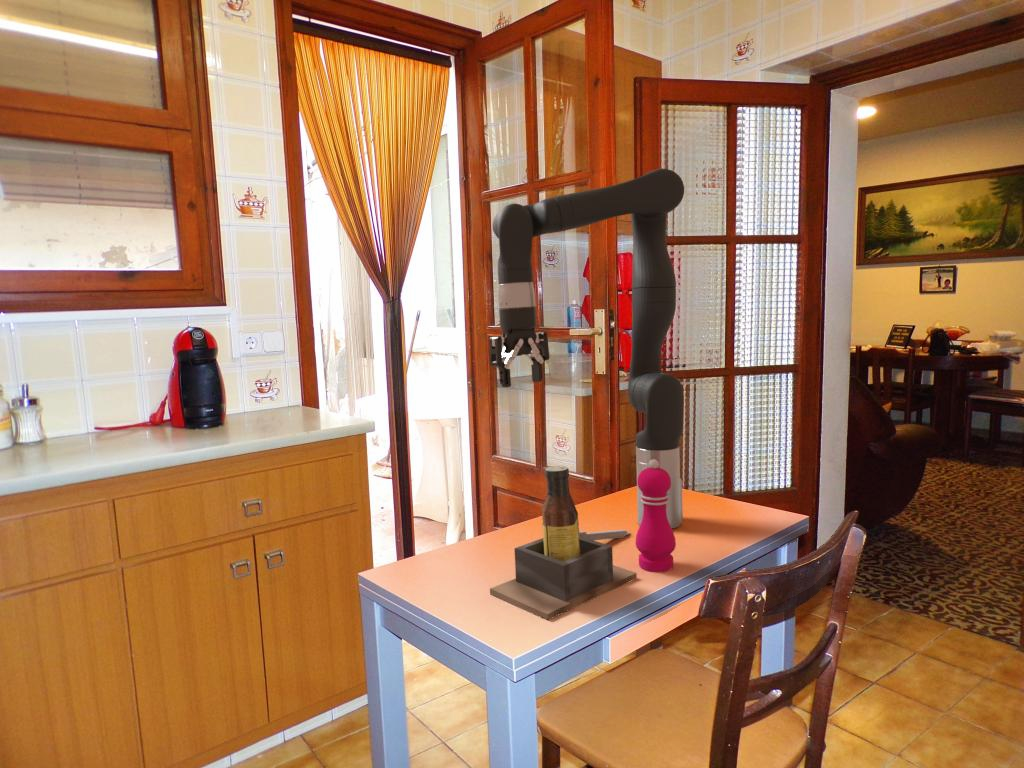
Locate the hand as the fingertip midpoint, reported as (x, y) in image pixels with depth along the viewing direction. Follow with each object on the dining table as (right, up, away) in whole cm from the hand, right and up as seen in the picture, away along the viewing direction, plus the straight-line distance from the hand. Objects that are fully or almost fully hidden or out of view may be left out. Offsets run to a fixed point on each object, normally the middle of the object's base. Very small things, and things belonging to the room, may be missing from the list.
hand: (522, 384), depth 139 cm
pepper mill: (+24, -34, -15) cm, 44 cm away
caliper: (+15, -33, -3) cm, 36 cm away
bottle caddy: (+7, -35, -22) cm, 42 cm away
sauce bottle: (+7, -34, -22) cm, 41 cm away
